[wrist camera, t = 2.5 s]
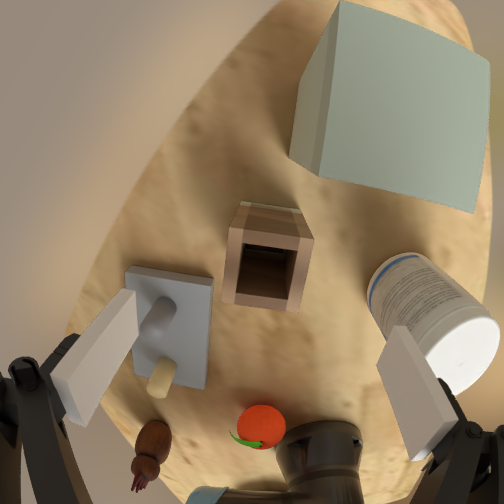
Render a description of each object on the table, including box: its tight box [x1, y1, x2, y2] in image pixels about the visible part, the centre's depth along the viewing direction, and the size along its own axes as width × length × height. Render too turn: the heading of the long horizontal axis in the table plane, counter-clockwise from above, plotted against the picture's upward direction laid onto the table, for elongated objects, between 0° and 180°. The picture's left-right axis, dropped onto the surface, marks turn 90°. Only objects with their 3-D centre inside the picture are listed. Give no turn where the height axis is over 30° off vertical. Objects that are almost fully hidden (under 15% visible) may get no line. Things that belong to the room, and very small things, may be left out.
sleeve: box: [221, 201, 314, 313], centre depth 27 cm, size 6×6×10 cm
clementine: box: [229, 405, 286, 450], centre depth 37 cm, size 8×7×7 cm
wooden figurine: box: [131, 421, 172, 493], centre depth 37 cm, size 7×6×15 cm
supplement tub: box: [367, 252, 500, 396], centre depth 26 cm, size 10×10×15 cm
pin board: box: [125, 265, 214, 399], centre depth 33 cm, size 16×10×7 cm, turn 173°
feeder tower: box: [288, 0, 490, 214], centre depth 19 cm, size 8×8×18 cm
